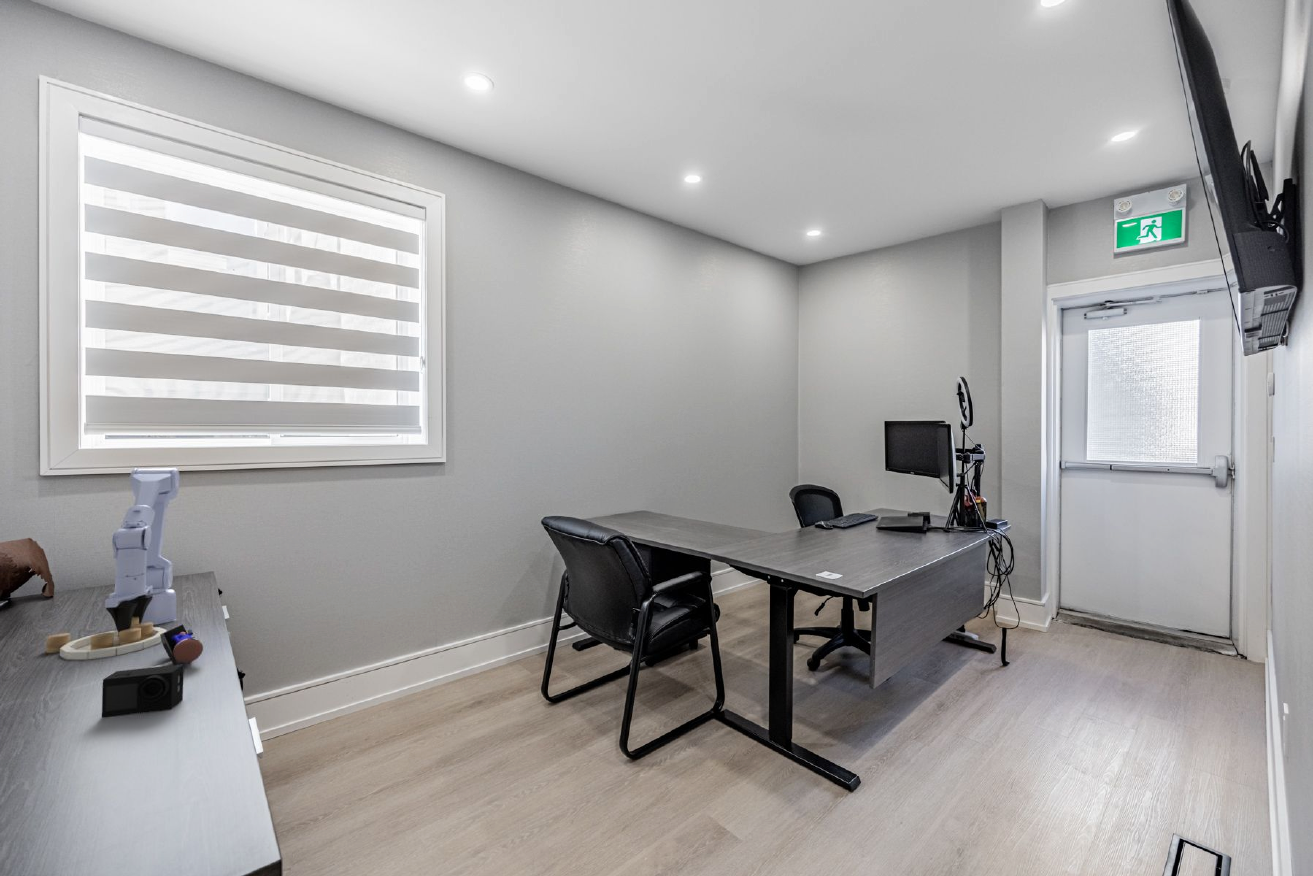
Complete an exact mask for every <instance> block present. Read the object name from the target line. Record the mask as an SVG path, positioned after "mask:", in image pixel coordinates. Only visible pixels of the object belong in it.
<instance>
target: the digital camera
mask: <svg viewBox="0 0 1313 876" xmlns="http://www.w3.org/2000/svg"><path fill="white" fill-rule="evenodd" d="M184 665H185V664H178V665H173V664H172V665H165V666H164V665H163V666H155V667H153V666H152V667H144V668H132V669H126V670H125V669H124V670H117V671H115V672H113V673H111V674H110V675H108V676H106V677H105V678H103V679H102V692H101V694H102V696H101V697H102V698H101V699H102V700H101V718H102V719H103V718H111V717H119V716H126V715H127V716H128V715H135V714H144V713H146V714H147V713H152V712H160V711H161V712H162V711H169V710H170V711H171V710H173V708H175V707H176V706H177V705H178V704H179V703H181V702H182V701H183V698H184V674H185V673H184V672H185V671H184V669H185V668H184V667H185V666H184Z"/></svg>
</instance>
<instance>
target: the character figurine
mask: <svg viewBox="0 0 1313 876" xmlns="http://www.w3.org/2000/svg"><path fill="white" fill-rule="evenodd" d="M193 635H194V633H193V630H192V629H190V628H189V629H187V630H186V627H185V626H184V624H180V625H177V626H175V627H173V628H171V629H169V630H167V632H165V633H162V634H160V637H161V641H162V642H161V644H162V647H163V649H164V650H165V652H166V655H167V656H168V658H169V660H170V662H171V665H172V666H173V665H179V664H178V662H179V663H184V664H186V663H191V662H194V661H196V659H198V658H199V657H200V656H201V655H202V653H203V651H204V645H203V643H202V641H201V640H199V639H197V638H196V637H194V636H193Z"/></svg>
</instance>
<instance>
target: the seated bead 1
mask: <svg viewBox="0 0 1313 876" xmlns="http://www.w3.org/2000/svg"><path fill="white" fill-rule="evenodd" d="M101 633H102V634H100V633H96V634H97V635H95V634H93V635H94V636H91V649H90V650H95V649H102V648H110V647H113V641H114V633H105V632H101Z"/></svg>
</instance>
